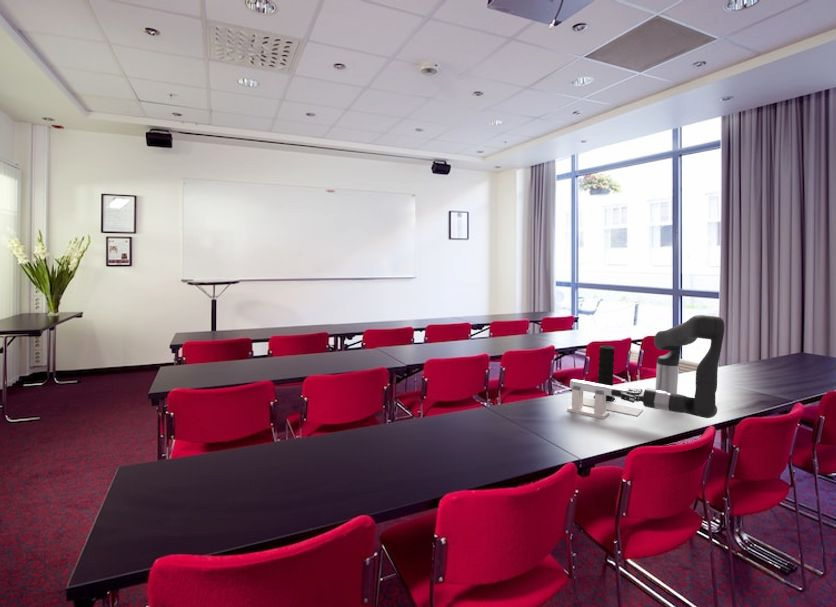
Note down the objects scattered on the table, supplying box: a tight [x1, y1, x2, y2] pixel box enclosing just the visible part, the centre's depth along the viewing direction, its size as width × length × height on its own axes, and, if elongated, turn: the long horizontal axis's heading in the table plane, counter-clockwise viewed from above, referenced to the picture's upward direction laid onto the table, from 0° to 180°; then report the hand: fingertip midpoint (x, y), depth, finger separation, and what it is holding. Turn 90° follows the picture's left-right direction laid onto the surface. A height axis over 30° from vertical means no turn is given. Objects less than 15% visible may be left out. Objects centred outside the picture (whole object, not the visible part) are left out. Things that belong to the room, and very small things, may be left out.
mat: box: [583, 397, 644, 417], centre depth 209 cm, size 10×28×1 cm, turn 50°
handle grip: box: [593, 344, 616, 402], centre depth 220 cm, size 10×26×10 cm
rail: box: [569, 378, 629, 399], centre depth 197 cm, size 24×4×4 cm, turn 51°
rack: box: [567, 387, 610, 420], centre depth 200 cm, size 7×16×11 cm, turn 50°
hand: (613, 391), depth 193 cm, fingers closed on rail, 3 cm apart
